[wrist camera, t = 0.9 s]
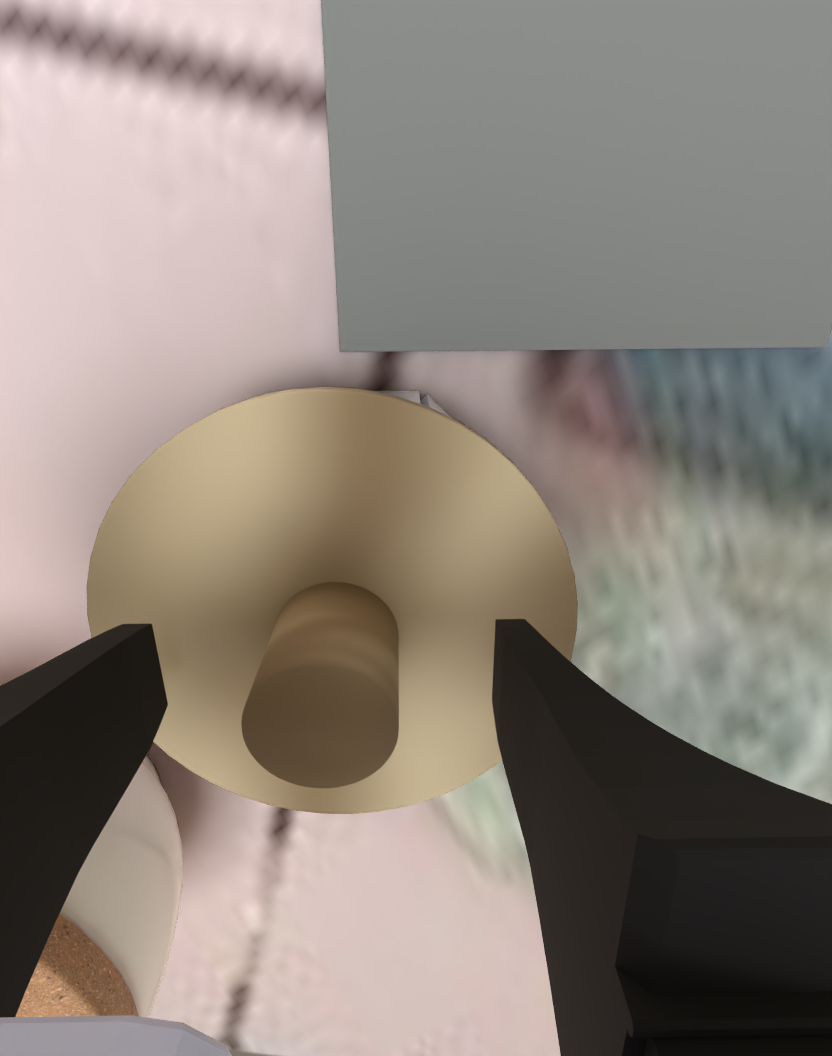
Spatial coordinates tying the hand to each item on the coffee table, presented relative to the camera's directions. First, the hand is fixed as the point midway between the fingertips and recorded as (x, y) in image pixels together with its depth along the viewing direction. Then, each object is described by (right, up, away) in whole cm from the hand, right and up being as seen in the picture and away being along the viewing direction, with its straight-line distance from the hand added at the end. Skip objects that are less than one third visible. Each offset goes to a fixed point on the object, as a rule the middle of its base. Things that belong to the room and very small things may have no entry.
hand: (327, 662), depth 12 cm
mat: (+6, +13, 0) cm, 14 cm away
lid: (0, +1, +2) cm, 2 cm away
